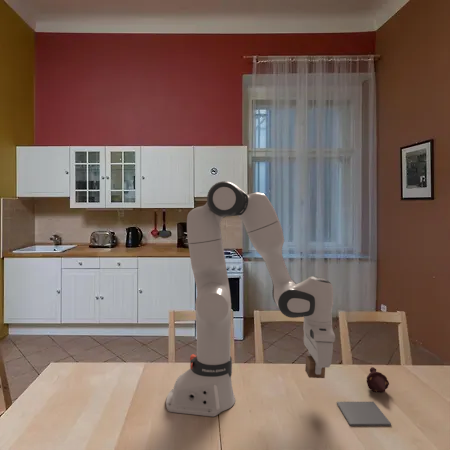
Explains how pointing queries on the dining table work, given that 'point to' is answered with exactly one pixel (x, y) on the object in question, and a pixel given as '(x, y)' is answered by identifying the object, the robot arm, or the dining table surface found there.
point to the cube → (310, 368)
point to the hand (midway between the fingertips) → (314, 369)
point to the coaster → (363, 414)
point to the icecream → (377, 381)
